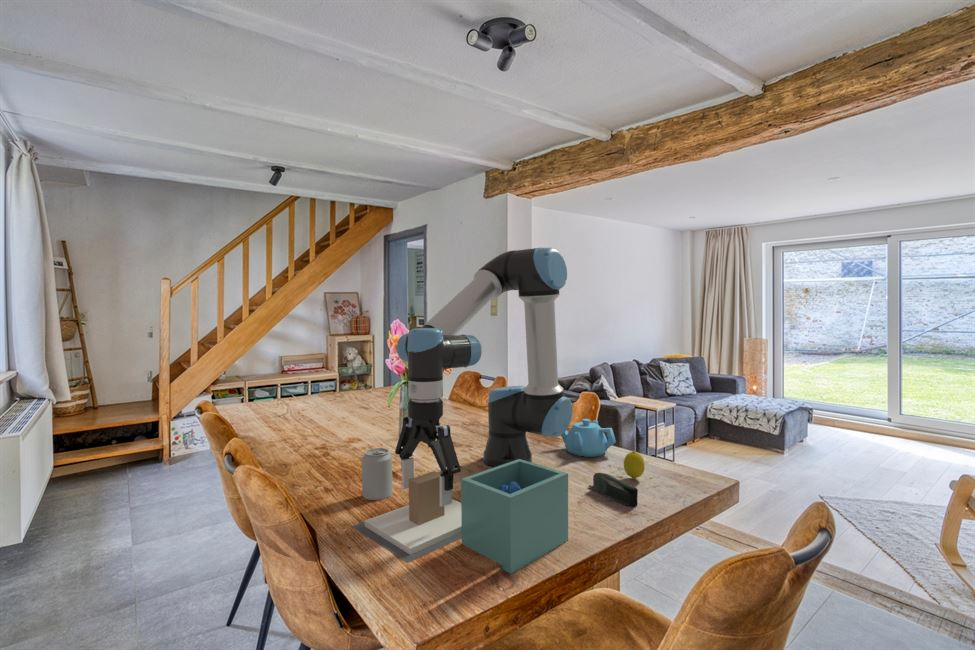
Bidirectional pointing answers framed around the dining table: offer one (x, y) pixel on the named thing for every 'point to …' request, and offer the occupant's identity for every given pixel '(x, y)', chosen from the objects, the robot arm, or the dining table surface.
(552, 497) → the teal storage bin
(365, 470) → the can
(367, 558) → the dining table surface
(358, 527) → the mat
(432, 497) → the lid
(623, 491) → the mobile phone
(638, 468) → the lemon
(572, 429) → the teapot
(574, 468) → the dining table surface
